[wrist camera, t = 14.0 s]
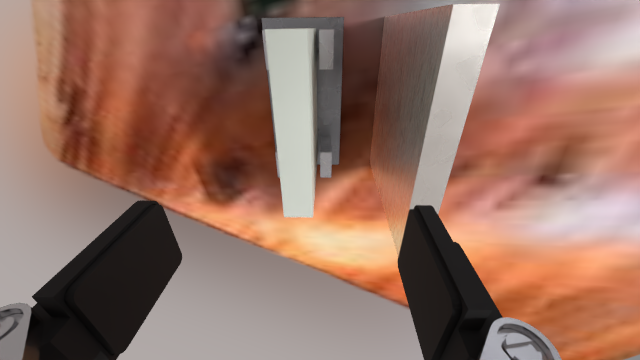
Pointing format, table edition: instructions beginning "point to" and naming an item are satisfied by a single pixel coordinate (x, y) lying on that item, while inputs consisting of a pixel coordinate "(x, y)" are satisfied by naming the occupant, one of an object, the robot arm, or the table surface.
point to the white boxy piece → (404, 99)
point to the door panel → (295, 114)
